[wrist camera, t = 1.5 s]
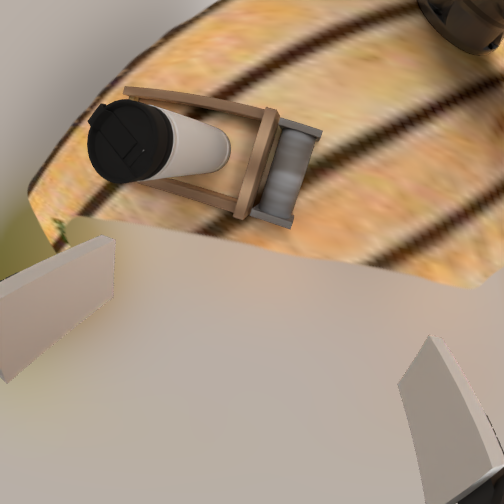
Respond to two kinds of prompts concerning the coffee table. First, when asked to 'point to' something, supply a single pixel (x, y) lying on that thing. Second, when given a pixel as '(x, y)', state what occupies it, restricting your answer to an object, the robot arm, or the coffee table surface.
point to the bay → (281, 172)
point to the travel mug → (152, 143)
